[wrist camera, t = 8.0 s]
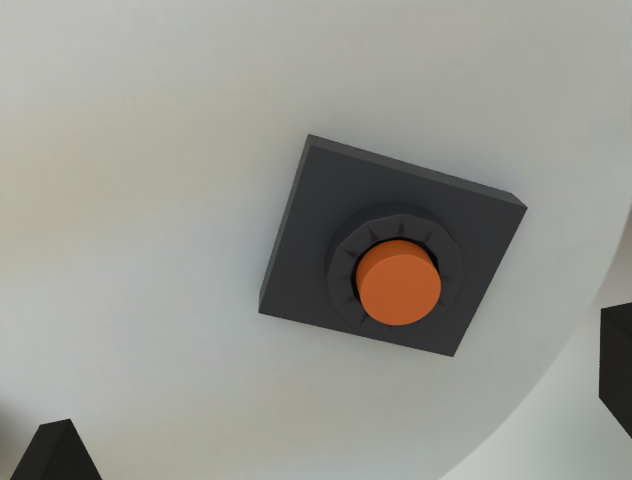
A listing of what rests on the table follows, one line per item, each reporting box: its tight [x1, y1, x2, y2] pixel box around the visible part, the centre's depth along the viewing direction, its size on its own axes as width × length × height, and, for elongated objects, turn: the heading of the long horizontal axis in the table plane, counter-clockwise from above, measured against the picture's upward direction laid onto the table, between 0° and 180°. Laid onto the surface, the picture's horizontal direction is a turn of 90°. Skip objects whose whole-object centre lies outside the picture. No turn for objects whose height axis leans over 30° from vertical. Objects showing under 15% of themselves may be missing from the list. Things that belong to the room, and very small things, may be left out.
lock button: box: [356, 240, 441, 325], centre depth 27 cm, size 4×4×2 cm
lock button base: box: [258, 134, 528, 357], centre depth 29 cm, size 12×10×4 cm
